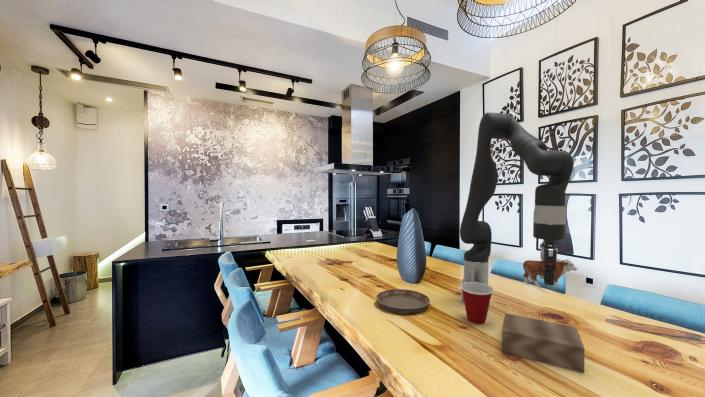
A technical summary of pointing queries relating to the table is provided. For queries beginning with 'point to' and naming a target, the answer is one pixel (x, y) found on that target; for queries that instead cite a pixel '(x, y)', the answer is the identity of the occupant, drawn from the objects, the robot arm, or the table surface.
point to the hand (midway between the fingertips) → (547, 281)
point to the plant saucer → (403, 301)
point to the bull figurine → (537, 269)
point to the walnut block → (543, 342)
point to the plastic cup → (476, 301)
